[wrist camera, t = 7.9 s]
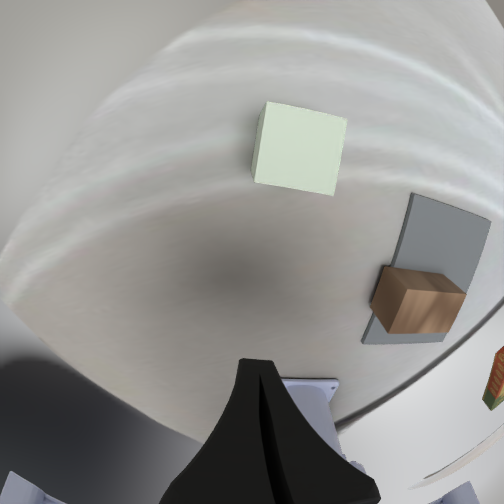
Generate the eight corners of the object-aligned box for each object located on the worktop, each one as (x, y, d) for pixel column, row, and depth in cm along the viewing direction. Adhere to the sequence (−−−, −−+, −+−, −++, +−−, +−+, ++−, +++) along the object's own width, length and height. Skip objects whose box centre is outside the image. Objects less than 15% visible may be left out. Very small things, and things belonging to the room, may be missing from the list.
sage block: (306, 179, 18) (333, 196, 13) (250, 170, 18) (254, 182, 12) (315, 126, 17) (347, 119, 11) (259, 115, 17) (267, 101, 11)
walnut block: (369, 306, 22) (428, 309, 22) (387, 333, 18) (448, 332, 19) (384, 266, 20) (443, 274, 21) (407, 289, 17) (466, 294, 17)
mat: (440, 339, 25) (442, 341, 24) (361, 341, 24) (362, 344, 23) (488, 219, 20) (491, 221, 19) (411, 192, 19) (414, 194, 18)
